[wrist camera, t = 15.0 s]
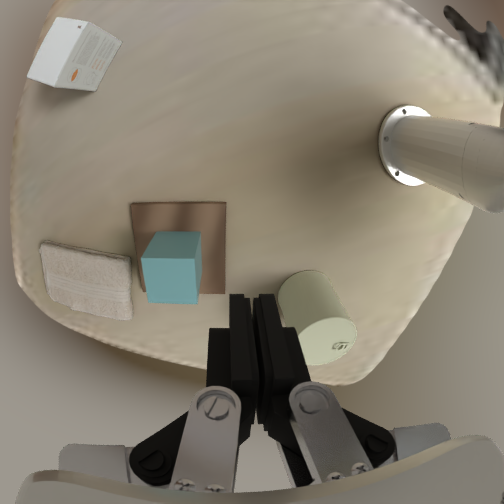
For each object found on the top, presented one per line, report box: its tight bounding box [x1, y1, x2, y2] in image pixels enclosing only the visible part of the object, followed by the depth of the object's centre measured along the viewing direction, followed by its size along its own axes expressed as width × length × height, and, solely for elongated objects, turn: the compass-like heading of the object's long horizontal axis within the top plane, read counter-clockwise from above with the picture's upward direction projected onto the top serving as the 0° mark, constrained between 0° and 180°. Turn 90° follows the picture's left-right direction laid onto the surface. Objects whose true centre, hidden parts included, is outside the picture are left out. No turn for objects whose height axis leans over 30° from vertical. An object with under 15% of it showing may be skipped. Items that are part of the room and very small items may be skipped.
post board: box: [131, 202, 226, 294], centre depth 35 cm, size 13×14×8 cm
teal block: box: [141, 231, 202, 304], centre depth 34 cm, size 6×6×8 cm
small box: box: [27, 17, 122, 92], centre depth 20 cm, size 8×6×10 cm
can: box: [278, 270, 357, 365], centre depth 38 cm, size 9×9×12 cm
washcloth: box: [39, 240, 133, 320], centre depth 38 cm, size 12×18×3 cm, turn 78°
